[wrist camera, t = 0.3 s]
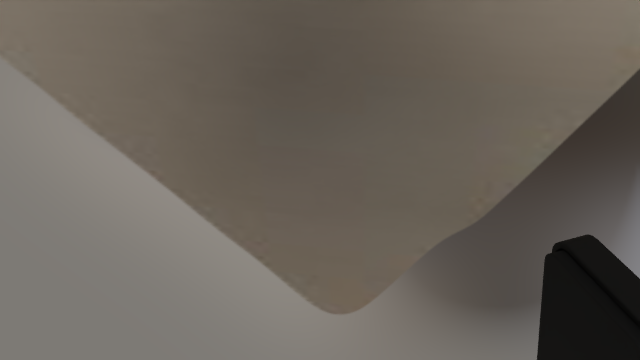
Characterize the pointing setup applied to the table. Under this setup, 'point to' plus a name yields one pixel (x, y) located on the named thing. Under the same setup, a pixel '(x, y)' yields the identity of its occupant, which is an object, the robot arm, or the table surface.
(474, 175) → the table surface
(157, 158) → the table surface
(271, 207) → the table surface
